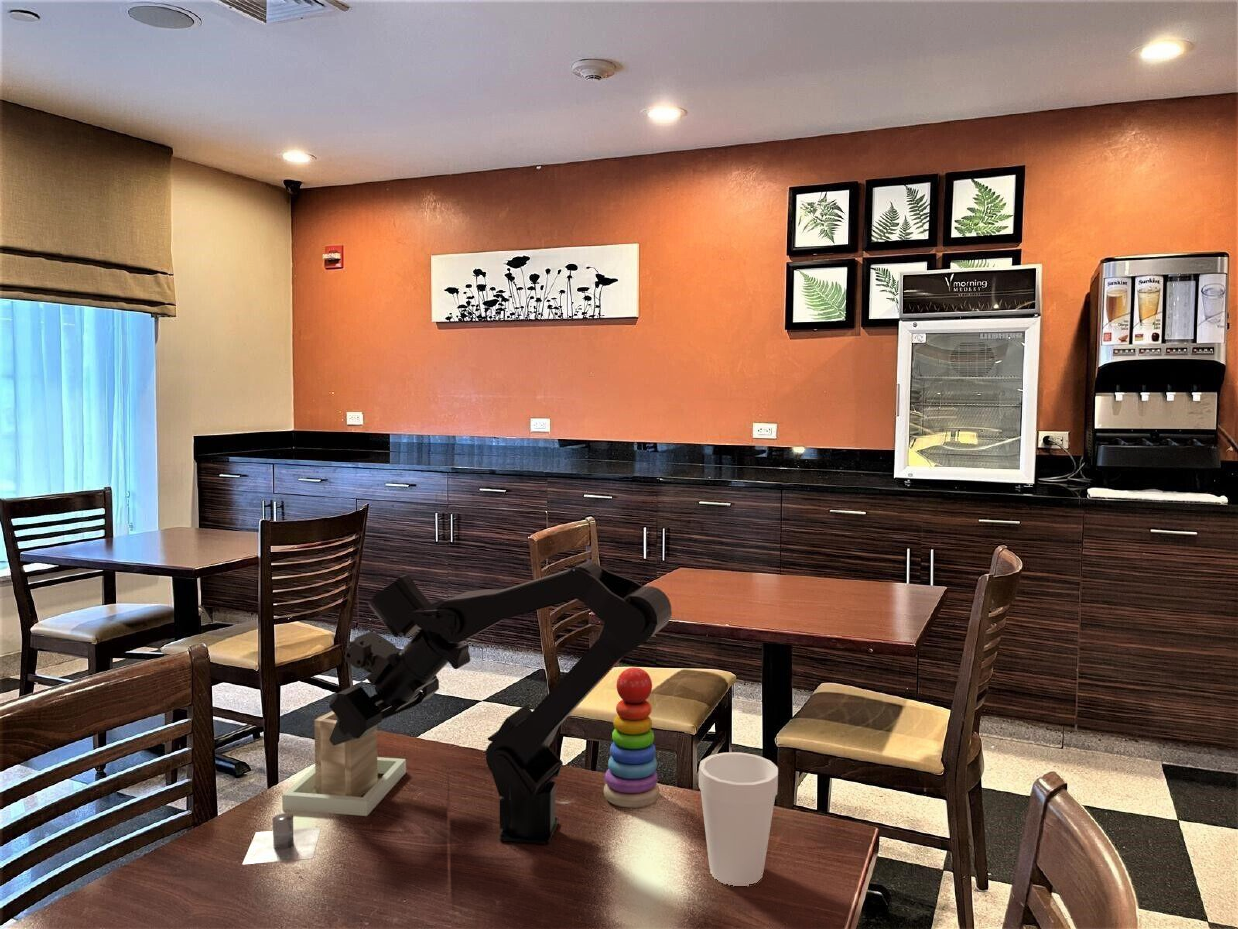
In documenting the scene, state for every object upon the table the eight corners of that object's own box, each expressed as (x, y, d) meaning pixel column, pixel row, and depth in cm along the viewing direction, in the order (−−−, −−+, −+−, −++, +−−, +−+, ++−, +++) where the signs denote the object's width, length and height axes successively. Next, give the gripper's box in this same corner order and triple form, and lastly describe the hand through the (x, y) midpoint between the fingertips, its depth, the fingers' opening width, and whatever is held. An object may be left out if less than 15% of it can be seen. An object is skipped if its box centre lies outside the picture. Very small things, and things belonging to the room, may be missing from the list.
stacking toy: (660, 811, 124) (661, 678, 122) (602, 810, 124) (603, 677, 122) (658, 786, 131) (660, 661, 130) (604, 785, 132) (605, 660, 130)
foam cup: (725, 902, 102) (727, 791, 101) (682, 864, 110) (684, 761, 109) (792, 881, 106) (794, 775, 105) (746, 846, 114) (748, 747, 113)
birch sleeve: (377, 786, 129) (376, 711, 128) (351, 803, 123) (350, 725, 122) (333, 777, 131) (332, 704, 131) (306, 794, 126) (305, 718, 125)
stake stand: (321, 834, 116) (320, 801, 116) (312, 866, 108) (311, 830, 108) (256, 840, 115) (255, 806, 114) (242, 872, 107) (241, 836, 106)
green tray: (406, 778, 133) (405, 759, 133) (366, 823, 119) (366, 801, 119) (329, 773, 135) (329, 754, 135) (282, 816, 121) (282, 794, 121)
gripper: (420, 602, 132) (358, 668, 136) (339, 633, 114) (272, 708, 119) (467, 660, 130) (403, 725, 134) (393, 701, 112) (322, 774, 117)
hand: (352, 730), depth 126 cm, fingers open, 9 cm apart
